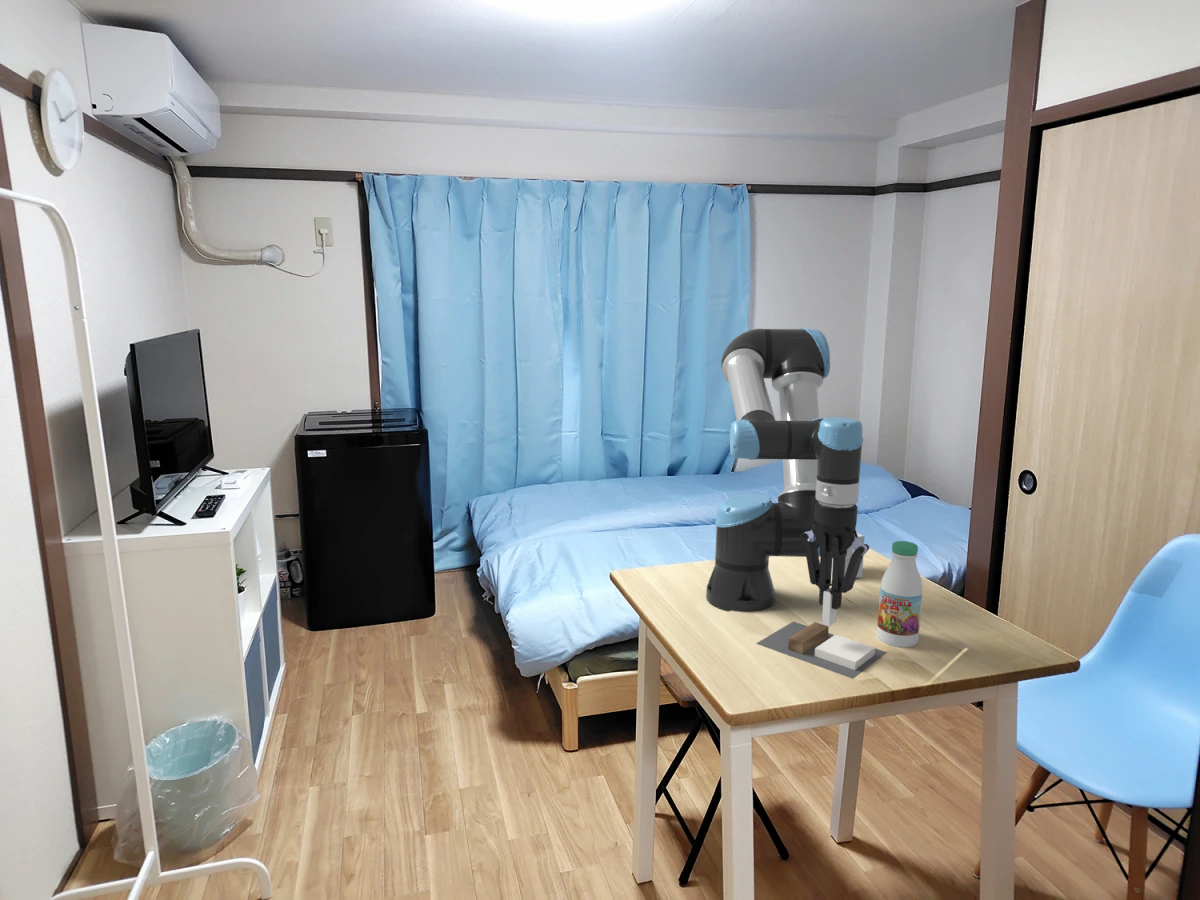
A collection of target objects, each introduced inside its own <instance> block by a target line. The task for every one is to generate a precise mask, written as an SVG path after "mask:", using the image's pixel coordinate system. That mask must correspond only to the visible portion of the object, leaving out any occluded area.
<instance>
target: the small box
mask: <svg viewBox="0 0 1200 900" xmlns="http://www.w3.org/2000/svg"><path fill="white" fill-rule="evenodd" d="M856 533H857V535H858V538H857V539H858V540H859V541H860V542H861V543H863V544H865V536H864V535H863V534H861V533H859V532H858V531H856ZM852 548H853V544H852V545H851V546H850V547H849V549H848V550H847V555H846V557H845V573H846V570H847V567H848V564H849V561H850V558H851V556H852V554H853V553H854V552H852ZM863 567H864V557H863V558H862V561H861V564H860V567H859V570H858V573H857V576H856V579H859V578H860V579H861V578H863V569H864V568H863ZM832 571H833V558H832ZM845 573H844V577H845Z"/></svg>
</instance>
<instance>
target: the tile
mask: <svg viewBox="0 0 1200 900" xmlns="http://www.w3.org/2000/svg"><path fill="white" fill-rule="evenodd" d="M833 635H834V636H833V637H831V638H830V639H828V640H827V641H825V642H824V643H822V644H821V645H819V646H818V647H816V648H815V656H816V657H819V658H822V659H825V660H827V661H830V662H833V663H836V664H839V665H841V666H844V667H847V668H850V669H853V670H856V669H857V668H858V667H860V666H861V665H862V664H864V663H865V662H866V661H868V660H869V659H870V658H872V657H873V656H874V654H875V646H872V645H868V644H866V643H862V642H860V641H856V640H853V639H851V638H848V637H844V636H841V635H837V634H833Z"/></svg>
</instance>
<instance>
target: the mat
mask: <svg viewBox="0 0 1200 900" xmlns="http://www.w3.org/2000/svg"><path fill="white" fill-rule="evenodd" d="M807 626H808V625H804V624H802V623H800V622H796V621H791V622H790V623H787V625H784V626H783V627H782V628H779V629H778V630H776V631H774V632H773V633H771V634H769V635H768V636H767V637H765V638H762V639H761V640H759V641H758V642H756V643H755V644H756V645H759V646H761V647H764V648H767V649H770V650H771V651H775V652H778V653H781V654H784V655H787V656H790V657H792V658H794V659H797V660H800V661H803V662H806V663H807V664H808V663H809V664H811V665H814V666H817V667H820V668H823V669H825V670H828V671H830V672H832V673H835V674H839V675H841V676H844V677H847V678H850V679H855V678H856V677H857V676H858V675H860V674H861V673H862V672H863V671H864V670H866V669H867V668H869V667H870V666H871V665H872V664H874V663H875V662H877V661H878V660H879V659H881V657H883V656H884V655H886V654H887V653H888V652H887V651H884V650H882V649H879V648H875V654H874V656H873V657H872V658H870V659H869V660H868V661H866V662H865V663H864V664H862V665H861V666H860V667H858V668H857V669H856V670H853V669H850V668H847V667H844V666H841V665H839V664H836V663H833V662H830V661H827V660H825V659H822V658H819V657H816V656H815V648H816V647H818V646H819V645H821V644H822V643H824V642H825V641H827V640H828V639H830V638H831V637H833V636H834V635H835V634H833V633H830V632H828V638H827V639H825V640H824V641H822V642H821V643H819V644H818V645H816V646H815V647H813V648H812V649H810V650H809V651H807V652H806V653H804V654H803V655H802V654H799V653H796V652H794V651H791V650H788V646H789V638H790V637H791V636H793V635H795V634H796V633H798V632H799V631H801V630H803V629H804V628H806V627H807Z"/></svg>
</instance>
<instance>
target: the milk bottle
mask: <svg viewBox="0 0 1200 900" xmlns="http://www.w3.org/2000/svg"><path fill="white" fill-rule="evenodd" d="M918 548H919V546H918V545H917V544H916V543H914V542H911V541H906V540H905V541H904V540H897V541H894V542H892V545H891V550H892V551H891V555H892V557H891V558H892V559H891V561H890V563H889V565H888V567H887V568H886V570H885V572H884V574H883V575H882V579H881V583H880V590H879V600H878V611H877V613H878V615H877V627H876V636H877V639H878V640H879V641H880V642H881V643H883V644H885V645H888V646H891V647H894V648H913V647H915V646H916V645H918V643H919V637H920V628H921V616H922V605H923V581H922V577H921V575H920V572H919V569H918V566H917V560H916V558H917V557H918V552H919V549H918Z"/></svg>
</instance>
